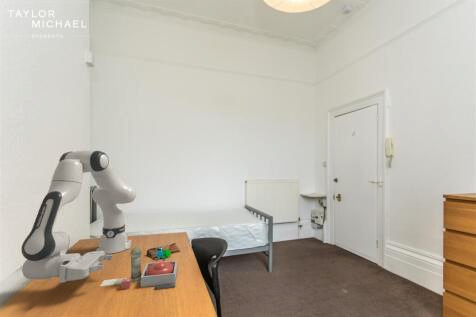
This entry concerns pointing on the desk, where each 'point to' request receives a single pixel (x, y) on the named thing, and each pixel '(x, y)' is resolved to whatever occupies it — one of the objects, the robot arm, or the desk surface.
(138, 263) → the pawn
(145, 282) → the game board
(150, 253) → the sunglasses case
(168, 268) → the dome
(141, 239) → the desk surface
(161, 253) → the stick construction toy
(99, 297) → the desk surface
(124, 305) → the desk surface
